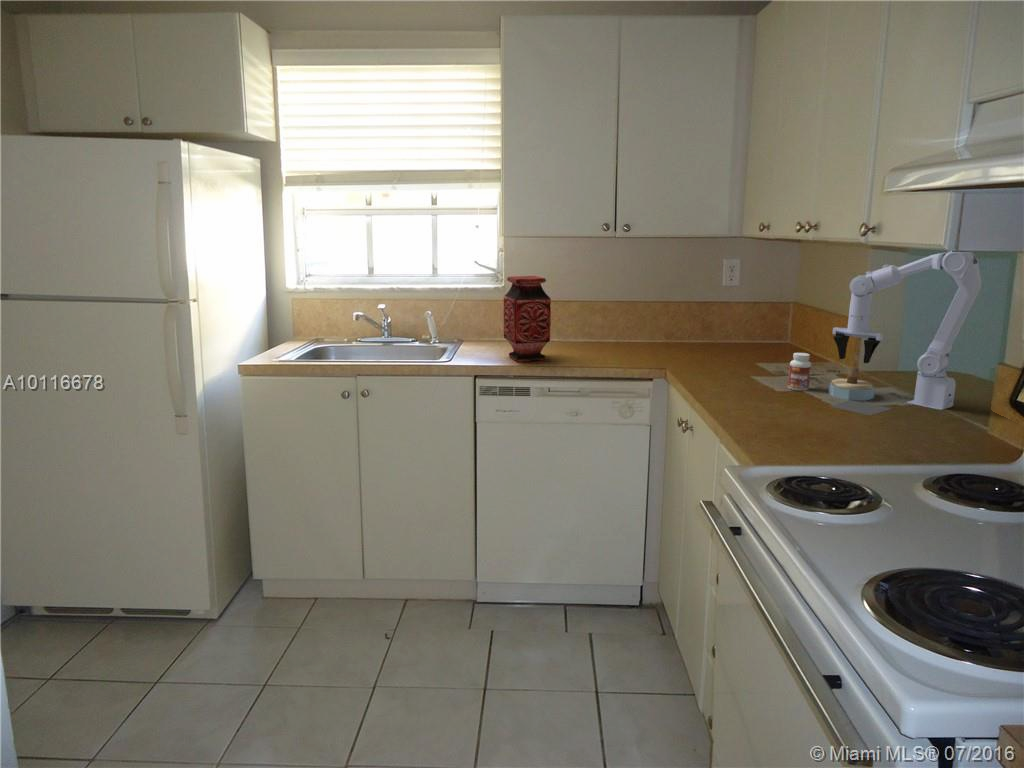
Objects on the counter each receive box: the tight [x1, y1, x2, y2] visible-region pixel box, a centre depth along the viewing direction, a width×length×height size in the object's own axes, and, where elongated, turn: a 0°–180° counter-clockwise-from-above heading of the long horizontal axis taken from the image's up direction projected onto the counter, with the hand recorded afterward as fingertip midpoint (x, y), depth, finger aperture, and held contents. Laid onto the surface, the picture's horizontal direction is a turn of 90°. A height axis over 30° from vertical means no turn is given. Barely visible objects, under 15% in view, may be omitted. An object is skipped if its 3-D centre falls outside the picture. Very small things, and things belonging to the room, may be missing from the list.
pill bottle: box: [787, 352, 812, 392], centre depth 229 cm, size 6×6×11 cm
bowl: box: [828, 381, 876, 402], centre depth 221 cm, size 11×11×4 cm
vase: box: [503, 275, 552, 363], centre depth 272 cm, size 14×14×30 cm
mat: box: [828, 400, 893, 417], centre depth 208 cm, size 12×12×1 cm
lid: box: [831, 367, 873, 390], centre depth 220 cm, size 11×11×5 cm
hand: (854, 360), depth 224 cm, fingers open, 7 cm apart
